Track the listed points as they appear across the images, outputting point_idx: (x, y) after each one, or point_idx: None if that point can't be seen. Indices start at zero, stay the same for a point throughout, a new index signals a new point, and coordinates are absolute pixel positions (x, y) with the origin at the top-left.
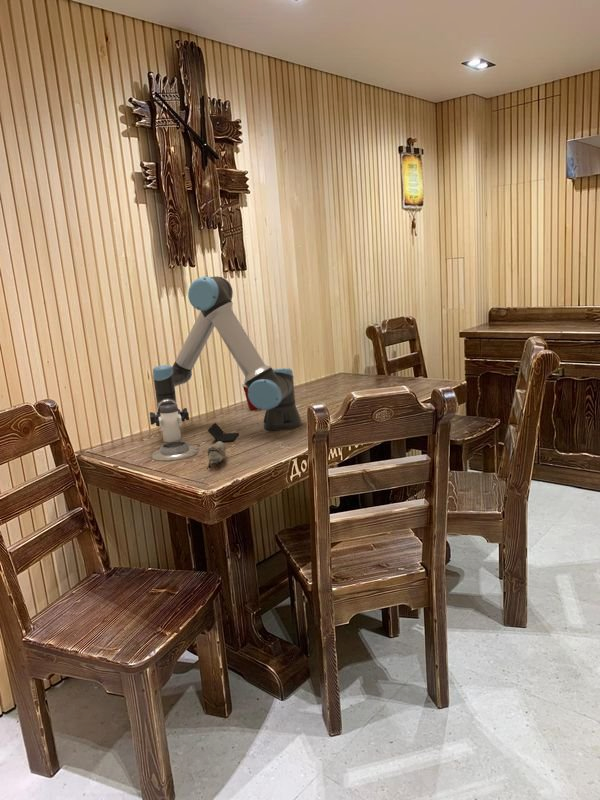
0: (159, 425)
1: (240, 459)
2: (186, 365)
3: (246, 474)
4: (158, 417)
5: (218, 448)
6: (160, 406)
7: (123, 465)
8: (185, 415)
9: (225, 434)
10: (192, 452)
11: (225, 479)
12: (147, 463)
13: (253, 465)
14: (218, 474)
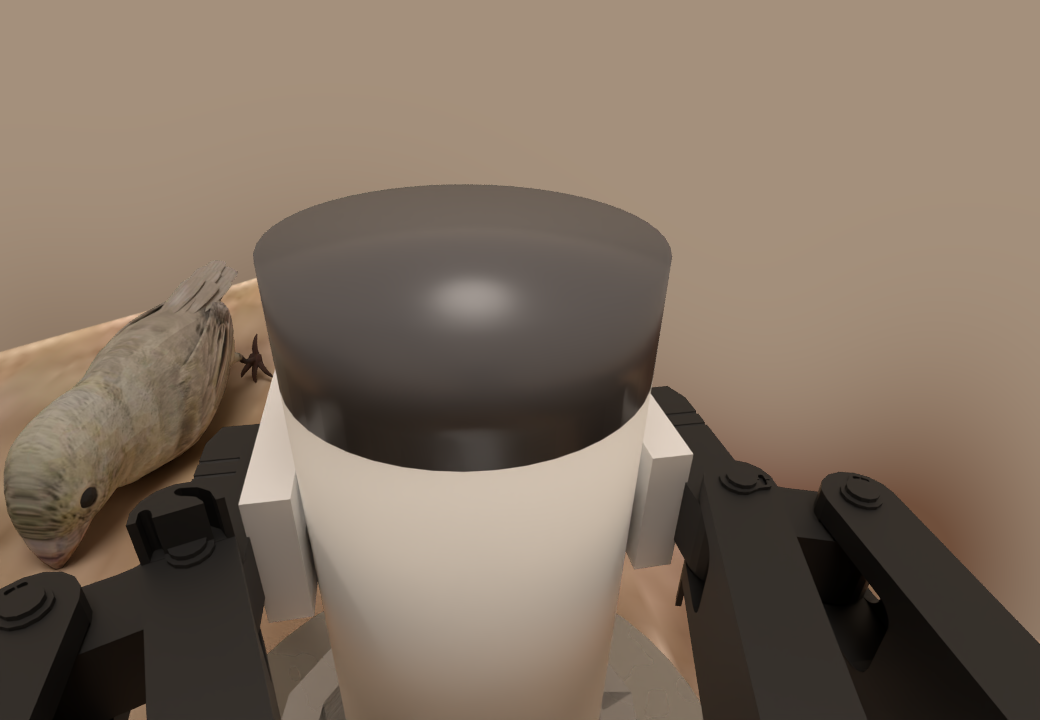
0: (677, 593)
1: (2, 466)
2: None
3: (134, 316)
4: (702, 476)
5: (160, 305)
6: (654, 245)
7: (877, 597)
8: (113, 582)
9: None
10: (273, 664)
11: (236, 302)
12: (676, 584)
13: (25, 377)
14: (240, 337)
